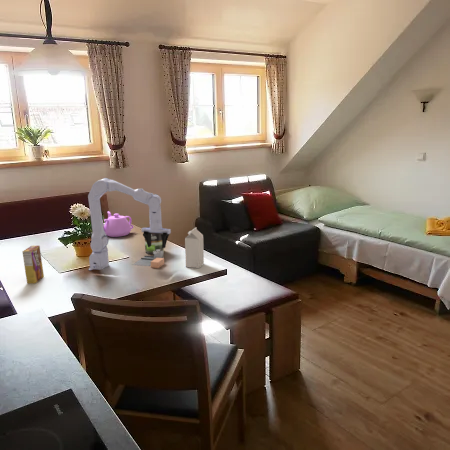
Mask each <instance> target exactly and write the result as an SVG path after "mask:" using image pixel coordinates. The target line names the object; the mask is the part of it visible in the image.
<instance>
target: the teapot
mask: <svg viewBox="0 0 450 450" xmlns="http://www.w3.org/2000/svg"><path fill="white" fill-rule="evenodd" d="M128 219H129V220H128ZM103 220H104V223H103V229H104V231H105V233H106V236H107V237H111V238H117V237H124V236H127V235H128V236H129V234H130V233H131V231H132V229H134V225H133V224H132V222H133V221H132V220H133V219H132V217H131V216H130V215H125V216H124V215H120V213H114V214H113V215H112V213H111V211H109V210H108V211H107V218H104V219H103Z"/></svg>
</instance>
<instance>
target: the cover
mask: <svg viewBox="0 0 450 450" xmlns="http://www.w3.org/2000/svg"><path fill="white" fill-rule="evenodd" d="M163 265H165V257H164V258H155V259H154V260H153V261H151V266H150V268H152V269H153V268H155V269H160V268H161V267H162V266H163Z"/></svg>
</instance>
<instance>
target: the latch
mask: <svg viewBox="0 0 450 450" xmlns="http://www.w3.org/2000/svg"><path fill="white" fill-rule="evenodd" d="M153 254H154V255H153V256H154V259H155V258H164V259H165V257H164V252H163V251H162V250H160V249H156V250H155V251H153Z"/></svg>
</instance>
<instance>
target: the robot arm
mask: <svg viewBox="0 0 450 450" xmlns="http://www.w3.org/2000/svg"><path fill="white" fill-rule="evenodd" d="M114 191H116V192H120V193H123V194H125V195H128V196H131V197H132V198H133V200H134V201H137V202H139V203H142V204H144V205H147V206H148V209H149V210H148V212H149V213H148V214H149V215H148V216H149V227H150V228H147V227H142V228H141V229H140V230H141V233H142V236H143V237H144V241H145V240H146V242H147V245H148V247H150V246H151V233H163V234H162V235H161V238H162V248H164V249H165V248H166V247H167V246H166V245H167V240H168V238H169V236H170V234H171V233H172V231H171V230H172V229H171V228H163V223H162V207H161V206H162V205H161V203H162V197H161V196H160V195H158V194H156V193H153V192H148V191H146V190H144V188H136V189H134V188H132V187H130V186H127V185H126V184H123V183H121V182H119V181H116V180H115V179H110V178H107V177H103V178H102V179H98V180H96V181H95V182H94V183H93V184H92V185H91V188H90V191H89V192H88V194H87V198H88V199H87V200H88V206H89V214H90V221H91V222H90V223H91V229H92V234H91V236H90V237H91V241H90V249H91V250H92V252H91V254H90V255H89V258H88V260H89V262H88V263H89V268H88V271H92V270H99V271H100V270H103V269H104V268H108V266H109V249H108V244H109V238H108V236H107V235H106V233H105V231H104V229H103V215H102V206H101V198H102V197H103V196H104V195H105V193H107V192H109V193H110V192H114Z"/></svg>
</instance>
